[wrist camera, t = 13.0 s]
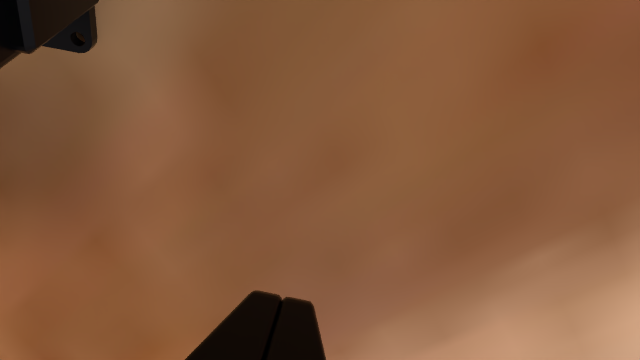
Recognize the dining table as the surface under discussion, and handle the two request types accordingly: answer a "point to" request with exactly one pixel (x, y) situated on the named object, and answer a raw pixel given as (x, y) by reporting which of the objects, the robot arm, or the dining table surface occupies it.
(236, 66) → the dining table surface
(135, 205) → the dining table surface
